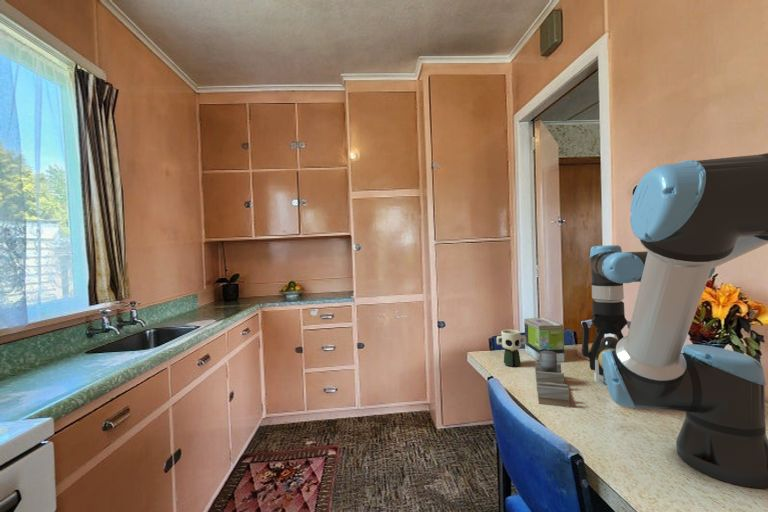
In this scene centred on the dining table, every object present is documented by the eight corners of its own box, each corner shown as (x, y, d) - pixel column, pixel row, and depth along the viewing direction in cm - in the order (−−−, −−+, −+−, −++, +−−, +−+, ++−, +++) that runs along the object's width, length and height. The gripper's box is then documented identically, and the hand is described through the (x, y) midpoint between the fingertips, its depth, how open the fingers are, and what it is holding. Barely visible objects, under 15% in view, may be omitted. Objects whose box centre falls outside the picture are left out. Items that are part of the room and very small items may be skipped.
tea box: (565, 362, 135) (564, 324, 134) (539, 363, 135) (538, 325, 135) (548, 350, 150) (546, 316, 150) (524, 351, 150) (523, 317, 150)
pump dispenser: (638, 389, 107) (637, 340, 107) (601, 388, 109) (599, 340, 109) (623, 377, 117) (621, 332, 117) (589, 376, 119) (587, 332, 119)
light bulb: (601, 378, 102) (599, 344, 102) (627, 383, 97) (625, 347, 97) (595, 384, 97) (593, 348, 97) (622, 390, 93) (620, 352, 93)
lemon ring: (623, 363, 131) (623, 357, 130) (580, 360, 136) (580, 355, 136) (614, 352, 144) (613, 347, 144) (575, 350, 149) (575, 345, 149)
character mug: (499, 368, 132) (498, 334, 132) (495, 361, 139) (494, 329, 139) (529, 367, 131) (528, 333, 130) (524, 361, 138) (522, 328, 137)
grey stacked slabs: (569, 407, 98) (568, 372, 98) (538, 403, 101) (537, 369, 101) (560, 376, 120) (559, 348, 120) (535, 374, 123) (534, 346, 123)
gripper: (644, 298, 97) (648, 381, 97) (567, 298, 104) (570, 375, 104) (654, 302, 90) (658, 391, 90) (570, 301, 97) (574, 384, 97)
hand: (611, 382), depth 97 cm, fingers closed on light bulb, 6 cm apart
